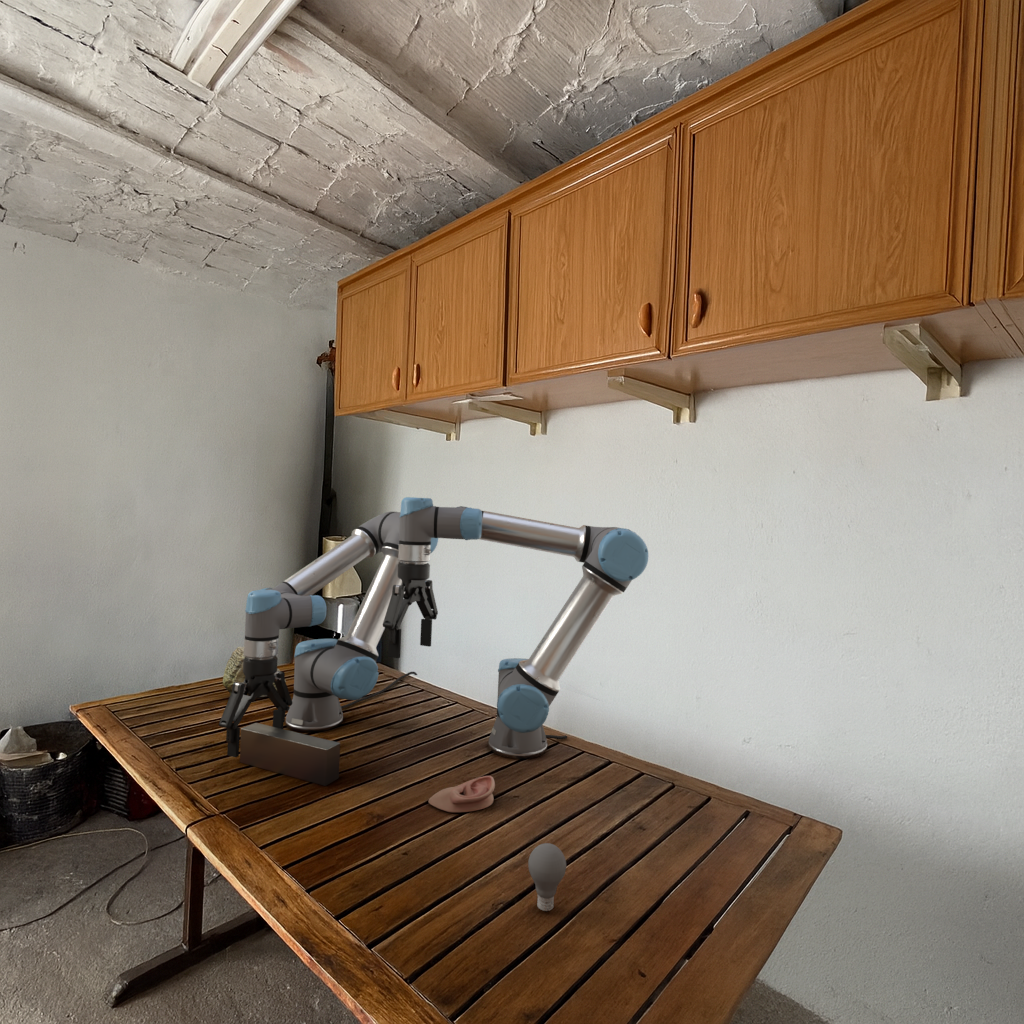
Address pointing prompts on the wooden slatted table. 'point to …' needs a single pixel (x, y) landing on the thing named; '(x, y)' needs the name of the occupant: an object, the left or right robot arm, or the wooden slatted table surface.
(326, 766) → the bar
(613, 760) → the wooden slatted table surface
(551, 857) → the light bulb
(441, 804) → the anatomical model
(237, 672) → the fossil
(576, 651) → the right robot arm
